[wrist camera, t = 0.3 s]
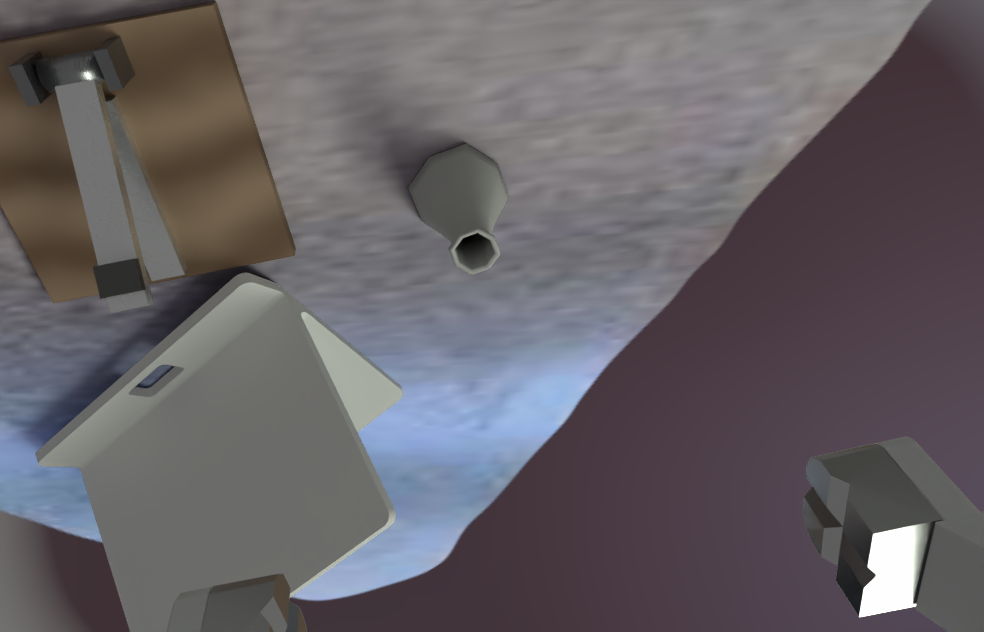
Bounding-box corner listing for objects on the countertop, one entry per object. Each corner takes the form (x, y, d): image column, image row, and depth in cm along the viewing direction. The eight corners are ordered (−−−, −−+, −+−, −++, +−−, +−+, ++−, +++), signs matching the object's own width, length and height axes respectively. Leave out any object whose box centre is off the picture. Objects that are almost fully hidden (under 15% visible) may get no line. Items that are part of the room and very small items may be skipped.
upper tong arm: (49, 63, 49) (32, 55, 47) (107, 52, 49) (91, 44, 47) (110, 313, 51) (95, 316, 49) (166, 302, 51) (154, 304, 49)
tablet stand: (406, 388, 69) (419, 537, 54) (213, 538, 75) (179, 707, 61) (244, 255, 60) (209, 391, 46) (40, 438, 66) (-48, 608, 52)
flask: (390, 185, 58) (395, 246, 50) (468, 125, 57) (486, 178, 48) (450, 251, 62) (464, 319, 54) (524, 197, 60) (551, 258, 52)
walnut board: (-70, 53, 49) (-79, 58, 48) (215, 1, 50) (213, 5, 49) (58, 294, 59) (53, 303, 58) (295, 248, 60) (294, 255, 59)
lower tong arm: (27, 53, 49) (7, 67, 46) (120, 36, 49) (106, 48, 46) (132, 278, 58) (121, 301, 55) (210, 263, 58) (203, 284, 55)
